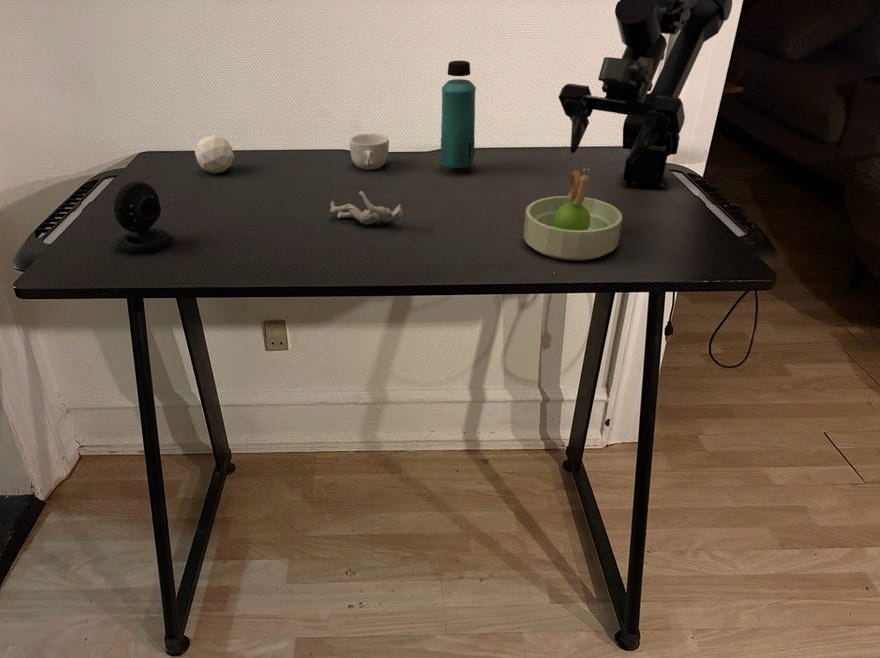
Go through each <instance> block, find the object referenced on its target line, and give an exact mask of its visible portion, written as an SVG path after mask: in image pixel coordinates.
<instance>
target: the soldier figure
mask: <svg viewBox="0 0 880 658" xmlns="http://www.w3.org/2000/svg"><path fill="white" fill-rule="evenodd" d="M358 194H359V195H360V196H361V198H362V199H363V202H364V205H366V207H367V209H364V210H363V211H361V209H359V208H358V207H356V206H355V205H354V204H351V203H347V204H344V205H339V206H336V205H335V201H333V200H331V202H330V214H334V213H338V214H337V219H342V218H355V220H357V221H358V222H359V223H360V224H363V225H365V226H367V225H372V224H373V223H377V222H383V223H384V224H387V223H389V222H391V221H392V220H397V221H398V223H399V224H400V222H401V220H402V219H403V208H402V205H401V203H399V204H398V205H397V206H396V207H394V208H393V211H392V209H390V208H389V207H385V206H377V205H373V204H372V203H371V202H370V200H369V199H368V198H367V196H366V194H365V193H364V191H362V190H360V191H359V192H358Z"/></svg>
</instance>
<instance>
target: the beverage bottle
mask: <svg viewBox="0 0 880 658" xmlns="http://www.w3.org/2000/svg"><path fill="white" fill-rule="evenodd" d="M447 75H448V76H450V77H467V76H470V75H471V63H470V61H467V60H451V61H449V62H448V65H447ZM476 89H477V88H476V85H475V84H474V83H473V82H472V81H470V80H469V79H461V78H457V79H455V78H454V79H450V80H447V81H446V82H445V83H444V84H443V86H442V87H441V126H440V131H441V132H440V161H441V165H443V166H444V167H446V168H450V169H451V168H452V169H463V168H468V167H472V165H473V163H474V161H475V145H476V144H475V141H476V140H475V139H476V124H475V123H476V121H475V120H476V91H477V90H476Z"/></svg>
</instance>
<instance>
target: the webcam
mask: <svg viewBox="0 0 880 658" xmlns="http://www.w3.org/2000/svg"><path fill="white" fill-rule="evenodd" d="M161 211H162V207H161V204H160V199H159V195H158V193H157V191H156V190H155V189H154V188H153V186H152V185H150V184H149V183H147V182H144V181H135V180H134V181H131V182H128V183H125V184H124V185H123V186H122V187H120V189H118V191H117V193H116V195H115V196H114V201H113V214H114V217H115V219H116V221H117V223H118V224H119V226H121V228H123V229H124V230H126V231H128V232H127V233H125V234H123V235H122V236H121V238H120V239H119V243H118V244H119V247H120V248H121V249H122V250H123V251H125V252H128V253H132V254H146V253H152V252H156V251H160V250H161V249H163V248H164V247H166V246H167V245H168V244H169V242H170V235H169V233H168V232H167V231H166V230H164V229H162V228H158V227H157V228H156V227H153V226H154V224H155V223H156V222H157V221H158V219H159V218H160V216H161ZM135 240H136V241H137V240H140V241H142V242H143V243H133V241H135Z"/></svg>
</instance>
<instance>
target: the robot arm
mask: <svg viewBox="0 0 880 658" xmlns="http://www.w3.org/2000/svg"><path fill="white" fill-rule="evenodd" d="M732 8H733V0H618V1H617V3H616V5H615V8H614V14H615V19H616V23H617V26H618V31H619V35H620V39H621V43H622V44H624V45H625V46H626V47H625V49H624V52H623V54H622V56H621V57H610V56H605V57H603V61H602V64H601V68H600V71H599V75H598V78H597V80H598V81H599V82H601V83H602V86H601V90H602V93H605V97H603V96H597V95H592V91H591V89H590V87H589V85H582V84H575V83H566V84H564V86H563V87H561V90H560V92H559V94H558V99H559V102H560V105H561V107H562V109H563V112H564V115H565V116H566V117H568V118H569V120H570V121H571V131H570V132H571V133H570V134H571V136H570V152H571V153H572V154H574V153H575V152H576V151H577V150H578V148H579V146H580V144H581V142H582V139H583V136H584V135H585V133H586V131H587V128H588V127H589V124H590V121H589V118H590V117H591V116H592V113H593V111H600V112H607V113H613V114H618V115H624V116H626V117H625V119H624V121H623V125H622V149H624V150H629V151H630V152H629V153H627V154H626V156H625V160H624V161H625V162H624V167H623V174H622V178H623V181H625V187H626V188H627V187H628V188H640V189H641V188H642V189H655V190H656V189H657V190H661V189H664V182H663V180H664V175H665V171H666V165H667V161H668V157H670V156H673V155H677V154H678V149H679V145H680V133H681V131H682V128H683V126H684V124H685V120H686V116H685V110H684V109H685V108H684V103H683V101H682V99H681V97H680V95H681V93H682V91H683V89H684V86H685V84H686V82H687V80H688V78H689V75H691V71H692V69H693V67H694V65H695V63H696V60H697V58H698V57H699V54H700V52H701V49H702V47H703V45H704V43H705V42H707V41H708V40H710V39H711V38H713V37H714V36H716V35H717V34H719V32H720V30H721V28H722V27H723V25H724V23H725V22H726V21H728V20H729V17H730V15H731V12H732ZM663 34H664V35H663ZM677 34H678V35H677ZM665 35H674V36H675V35H677V37H676V39H675V41H674V43H673V45H672V47H671V49H670V51H669V54H668V56H667V58H666V60H665V62H664V64H663V66H662V69H661V71H660V73H659V75H658V77H657V79H656V81H655V83H654V85H653V80H654V78H655V76H656V73H657V71H658V68H659V65H660V63H661V61H664V59H665V54H666V53H665V51H666V49H667V46H668V42H667V39H666V37H665Z"/></svg>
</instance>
